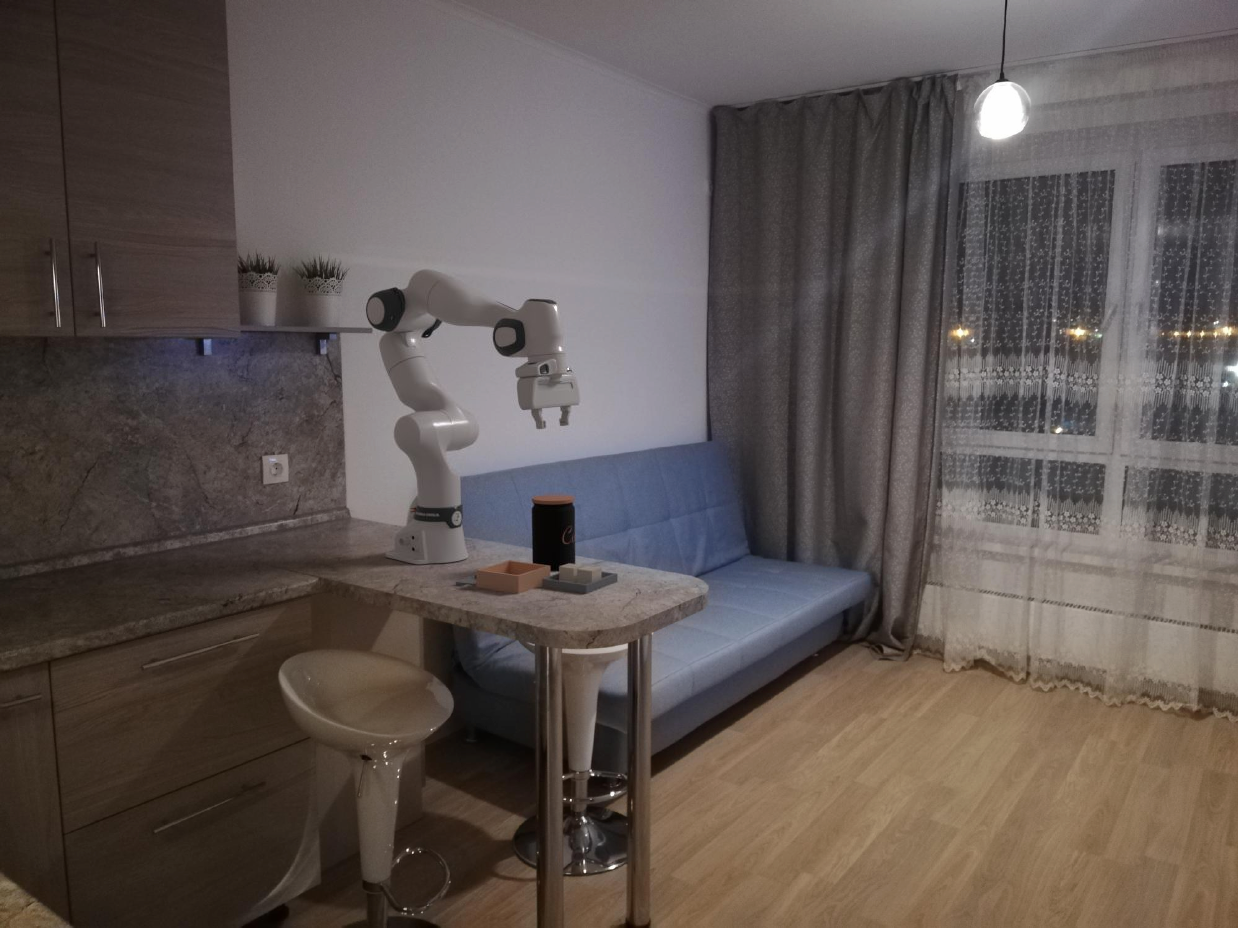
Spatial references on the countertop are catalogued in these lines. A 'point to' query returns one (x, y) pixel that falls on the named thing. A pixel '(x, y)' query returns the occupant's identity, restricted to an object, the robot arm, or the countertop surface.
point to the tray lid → (467, 581)
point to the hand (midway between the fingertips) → (553, 427)
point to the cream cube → (569, 572)
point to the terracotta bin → (512, 576)
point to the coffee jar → (553, 530)
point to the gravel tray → (577, 587)
